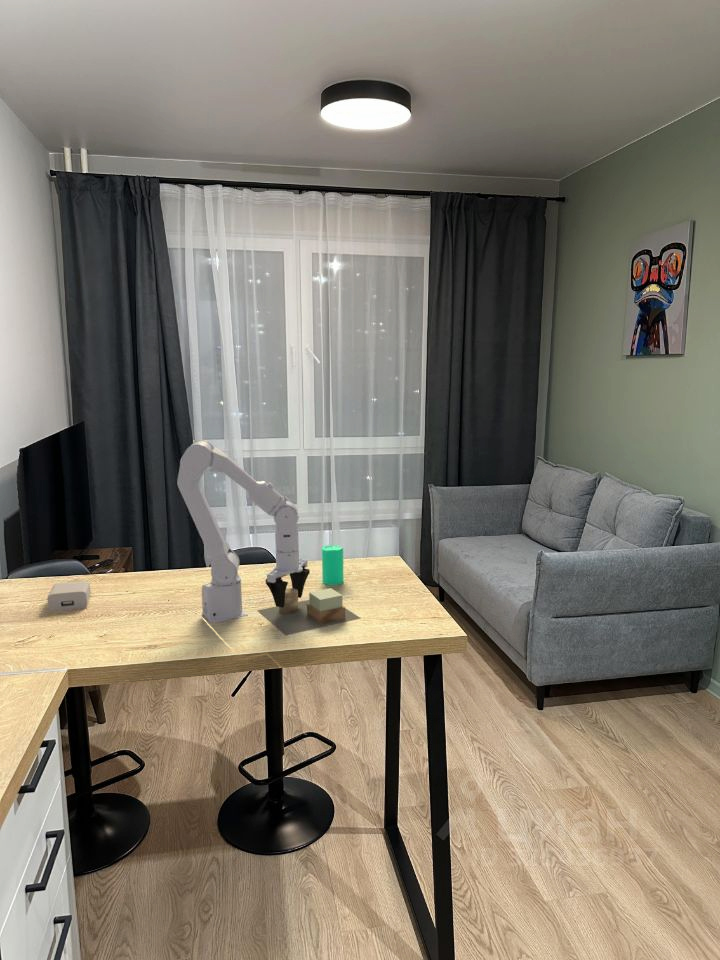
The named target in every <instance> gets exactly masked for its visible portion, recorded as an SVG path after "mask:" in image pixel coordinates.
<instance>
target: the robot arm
mask: <svg viewBox="0 0 720 960" xmlns="http://www.w3.org/2000/svg"><path fill="white" fill-rule="evenodd" d="M208 467H210V469H209V472H217V473H223V474H224V475H226V476H227V477H228V478H229V479H231V480H232V481H233V482H235V483H236V484H238V486H240V487H241V488H243V490H246V491H247V492H248V499H249V500H250V501H251V502H252V503H253V504H254V505H256V506H257V507H258V508H259V509H261V510H262V511H264V512H265V514H267V515H268V516H271V517H272V518H273V521H274V523H275V533H274V538H275V543H274V544H275V564H276V565H275V567H274V568H273V569H272V570H271V571H269V572H268V573H266V579H265V584H266V585H267V587H268V589H269V590H270V592H271V594H272V598H273V601H274V605H275V607H276V606H277V607H281V608H282V607H284V604H285V591H286V588H288V584H289V582H288V581H284V580H283V579H282V578H283V577H286V576H287V575H289V577H290V582H291V586H292V587H291V588H294V589H297V590H298V599H299V598H300V599H301V598H302V596H303V593H304V590H305V589H304V587H305V584H306V581H307V579H308V576H309V575H310V574H311V573H310V569H309V568H308V559H307V558H300V552H299V551H300V550H299V547H300V546H299V531H298V527H299V525H298V521H299V519H300V518H299V513H298V507H297V506H296V504H295V503H294V502H293V500H291V499H289V498H288V497H287V496H286V495H285V496H283V495H282V494H280V493H279V492H278V491H277V490H276V489H274V484H272V482H268V483H267V482H266V481H265V480H261V481H259V480H258V481H257V480H255V478H254V477H252V476H251V475H250V474H249V473H247V472H246V471H245V470H244V469H243V468H242V467H241V466H240V465H239V464H238V463H236V461H234V460H233V459H232V458H231V457H230V456H228V455H227V454H226V453H225V452H223V451H222V450H221V449H219V448H218V447H217V446H215V447H214V446H213V444H212V443H210V442H209V441H208V440H205V439H199V440H195V441H194V442H193V443H191V445H190V446H188V447H187V448H186V450H185V451H184V452H183V455H182V456H181V458H180V461H179V469H178V470H179V471H178V475H177V482H176V483H177V487H178V489H179V492H180V494H181V496H182V498H183V500H184V503H185V505H186V507H187V509H188V512H189V514H190V516H191V518H192V520H193V523H194V524H195V525H194V526H195V527H196V530H197V532H198V534H199V536H200V538H201V539H202V543H203V544H204V546H205V549H206V552H207V557H208V562H209V563H210V568H211V569H210V571H211V572H210V575H211V580H210V581H211V582H209V583H206V584H203V585H202V587H201V604H202V605H201V606H202V607H201V608H202V612H201V614H202V615H203V616H204V617H205V618H206V619H207V620H208V621H209V622H210V623H212V624H213V623H218V622H223V621H228V620H233V619H237V618H242V617H247V616H248V615H249V614H248V613H247V612H246V611H245V610H244V609H243V601H242V599H243V598H242V597H243V595H242V577H241V576H240V575H239V574H238V570H239V567H240V562H241V561H240V558H239V556H238V554H237V553H236V552H235V551H233V549H232V548H231V546H230V544H229V543H228V542H227V541H226V539H225V537H224V535H223V533H222V531H221V528H220V526H219V524H218V521H217V520H216V516H215V515H214V513H213V509H212V508H211V506H210V504H209V502H208V499H207V497H206V495H205V493H204V490H203V488H202V486H201V484H200V482H201V479H202V477H203V474H204V473H205V471H206V470H207V468H208Z"/></svg>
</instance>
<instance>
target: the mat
mask: <svg viewBox="0 0 720 960" xmlns="http://www.w3.org/2000/svg"><path fill="white" fill-rule="evenodd" d="M308 603H310V601H309V599H306V600H301V601H298V611H297V612H295V613H291V614H285V613H281V612H280V611H279V607H277V606H276V605H275V606H272V607H268V608H267V607H266V608H262V609H257V610H256V611H257V613H259V614H260V615H261V616H262V617H264V618H265V620H267V621H268V622H269V623H270V624H272V625H273V626H274V627H275V628H276V629H278V630H279V631H280V632H281V633H282V634H283V635H285V636H289V635H293V634H294V635H295V634H298V633H303V632H306V631H310V630H316V629H320V628H324V627H329V626H333V625H334V626H335V625H338V624H342V623H346V622H351V621H355V620H359V619H361V617H360V616H358V615H357V614H355V613H354V612H353V611H351V610H349V609H347V608H346V607H345V619H343V620H339V621H334V622H330V623H325V624H321V625H319V624H318V623H317V622H315V621H314V620H313V619H311V618H310V617H309V616H307V604H308Z"/></svg>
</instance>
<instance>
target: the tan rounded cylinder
mask: <svg viewBox="0 0 720 960" xmlns="http://www.w3.org/2000/svg"><path fill="white" fill-rule="evenodd" d="M298 602H299V598H298V590H297V589H294V588H292V587H286V591H285V604H284V607H282V608H281V607H279V611H280V612H281V613H285V614H291V613H295V612H297V611H298Z"/></svg>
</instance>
